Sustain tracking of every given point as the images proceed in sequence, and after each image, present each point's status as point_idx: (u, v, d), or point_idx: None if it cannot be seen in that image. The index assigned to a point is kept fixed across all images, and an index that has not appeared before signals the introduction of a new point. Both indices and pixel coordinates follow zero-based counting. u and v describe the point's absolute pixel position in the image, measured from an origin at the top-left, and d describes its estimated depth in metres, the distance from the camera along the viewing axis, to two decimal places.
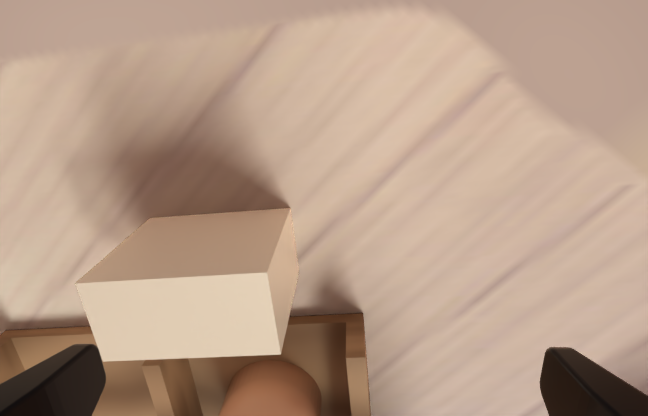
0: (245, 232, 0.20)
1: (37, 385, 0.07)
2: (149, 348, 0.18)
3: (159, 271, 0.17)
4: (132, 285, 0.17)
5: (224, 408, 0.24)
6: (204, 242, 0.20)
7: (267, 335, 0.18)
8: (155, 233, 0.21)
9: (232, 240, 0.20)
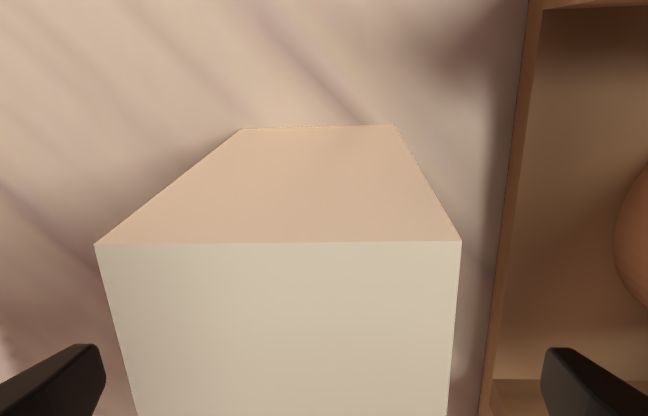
0: None
1: (37, 385, 0.07)
2: None
3: None
4: None
5: None
6: None
7: (364, 276, 0.05)
8: None
9: None
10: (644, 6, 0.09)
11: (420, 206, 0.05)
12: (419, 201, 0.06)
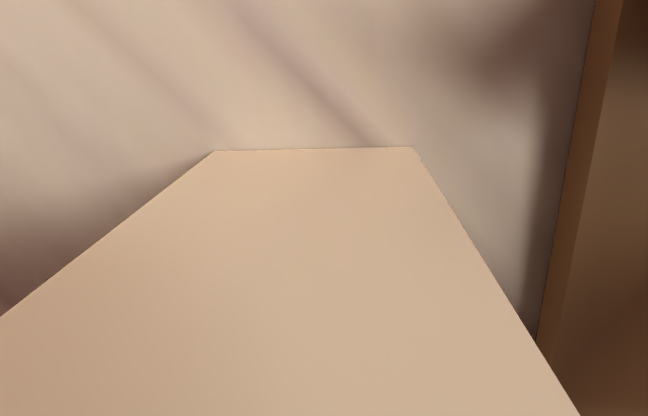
0: None
1: None
2: None
3: None
4: None
5: None
6: None
7: None
8: None
9: None
10: None
11: (498, 352, 0.03)
12: (492, 334, 0.03)
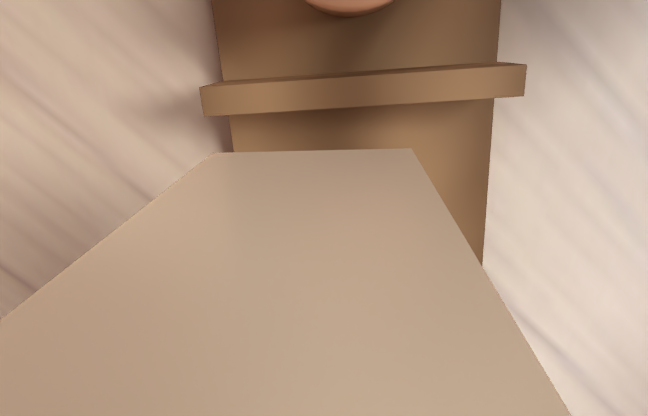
0: None
1: None
2: None
3: None
4: None
5: None
6: None
7: None
8: None
9: None
10: None
11: (494, 357, 0.03)
12: (488, 339, 0.03)
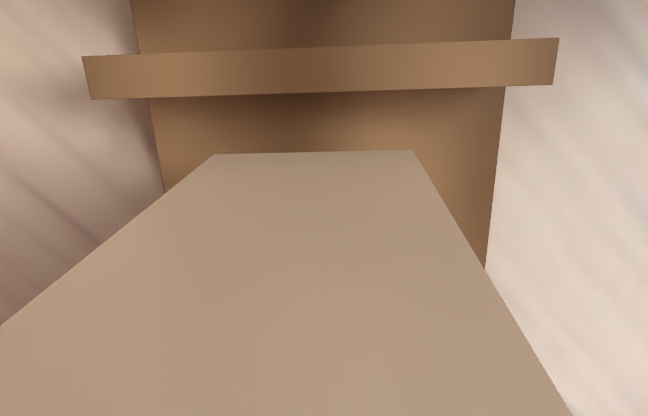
0: None
1: None
2: None
3: None
4: None
5: None
6: None
7: None
8: None
9: None
10: None
11: (498, 362, 0.03)
12: (492, 343, 0.03)
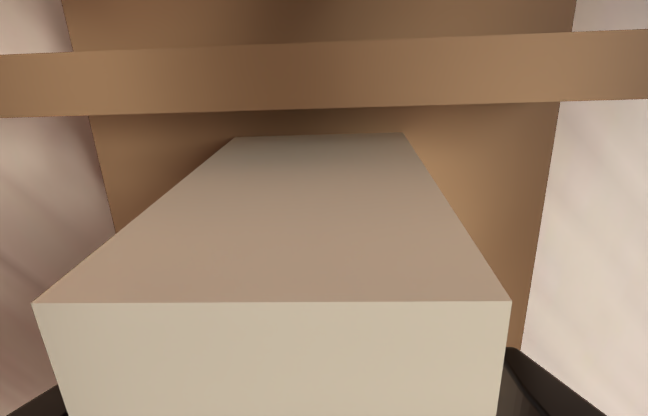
0: None
1: None
2: None
3: None
4: None
5: None
6: None
7: (382, 344, 0.04)
8: None
9: None
10: None
11: (448, 244, 0.04)
12: (446, 237, 0.04)
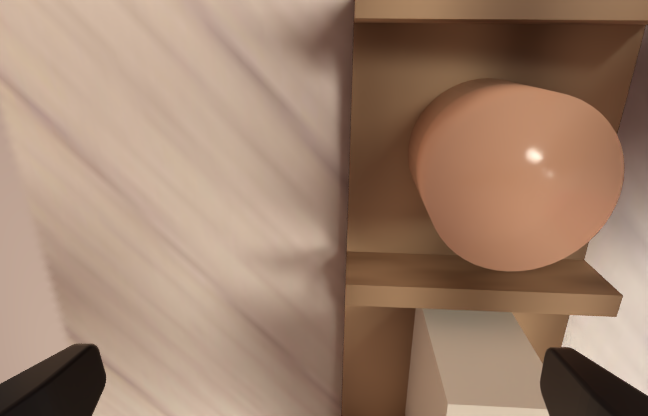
0: (423, 362, 0.19)
1: (37, 385, 0.07)
2: None
3: None
4: None
5: None
6: (422, 408, 0.18)
7: None
8: None
9: (426, 384, 0.18)
10: (407, 23, 0.16)
11: None
12: None
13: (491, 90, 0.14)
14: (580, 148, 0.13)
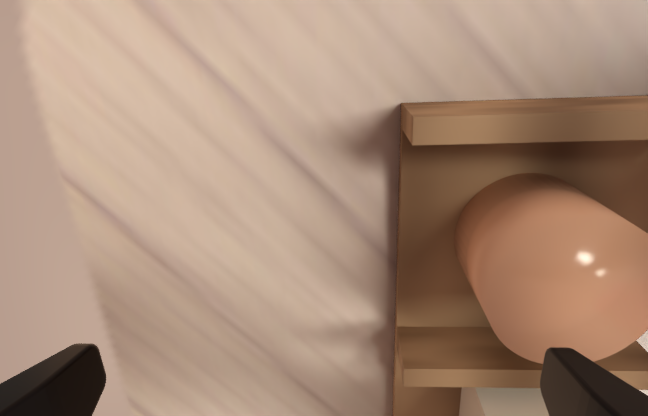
0: None
1: (37, 385, 0.07)
2: None
3: None
4: None
5: None
6: None
7: None
8: None
9: None
10: None
11: None
12: None
13: (540, 204, 0.15)
14: (628, 262, 0.14)
